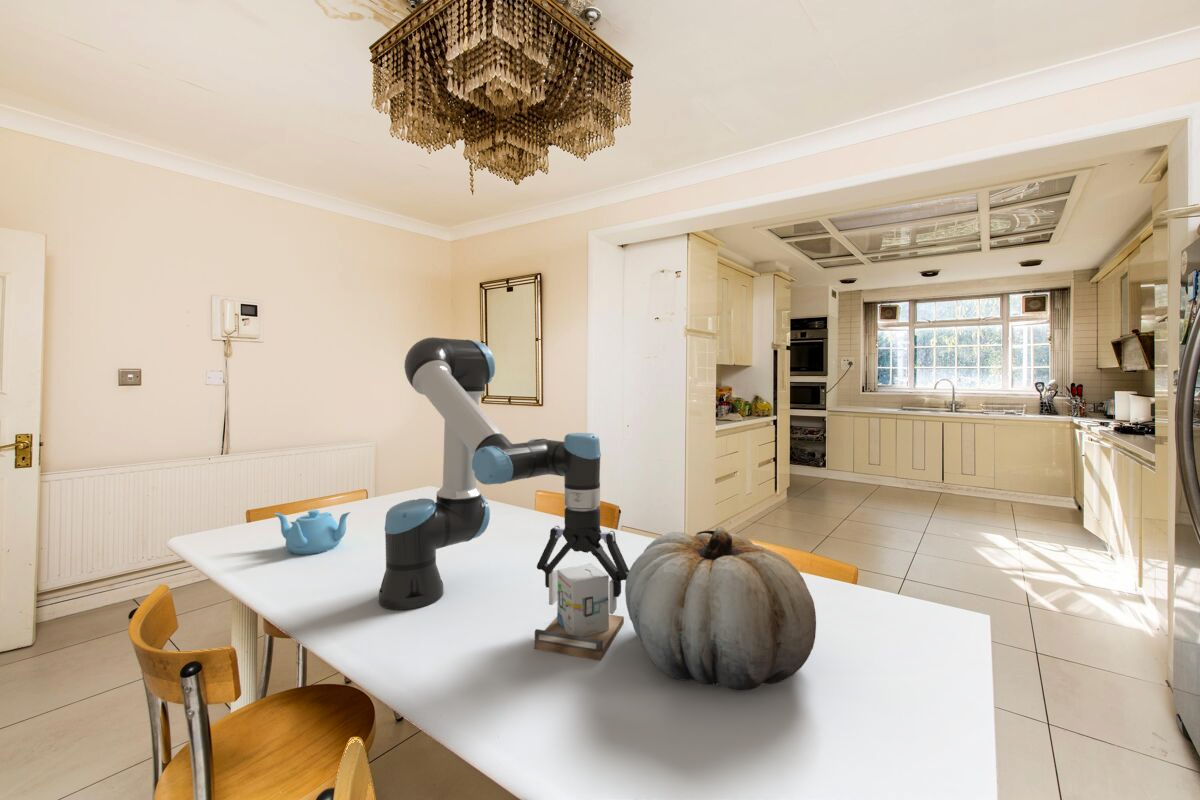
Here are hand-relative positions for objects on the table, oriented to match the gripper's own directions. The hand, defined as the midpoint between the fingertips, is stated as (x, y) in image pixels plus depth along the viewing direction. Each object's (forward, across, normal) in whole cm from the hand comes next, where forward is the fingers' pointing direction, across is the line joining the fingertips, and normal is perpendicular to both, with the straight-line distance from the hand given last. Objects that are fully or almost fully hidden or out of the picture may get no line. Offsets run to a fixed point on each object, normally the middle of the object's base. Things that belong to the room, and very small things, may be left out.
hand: (582, 606), depth 107 cm
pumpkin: (+6, +27, 0) cm, 28 cm away
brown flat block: (+6, 0, -1) cm, 6 cm away
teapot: (+6, -103, +25) cm, 106 cm away
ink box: (+4, 0, 0) cm, 4 cm away
